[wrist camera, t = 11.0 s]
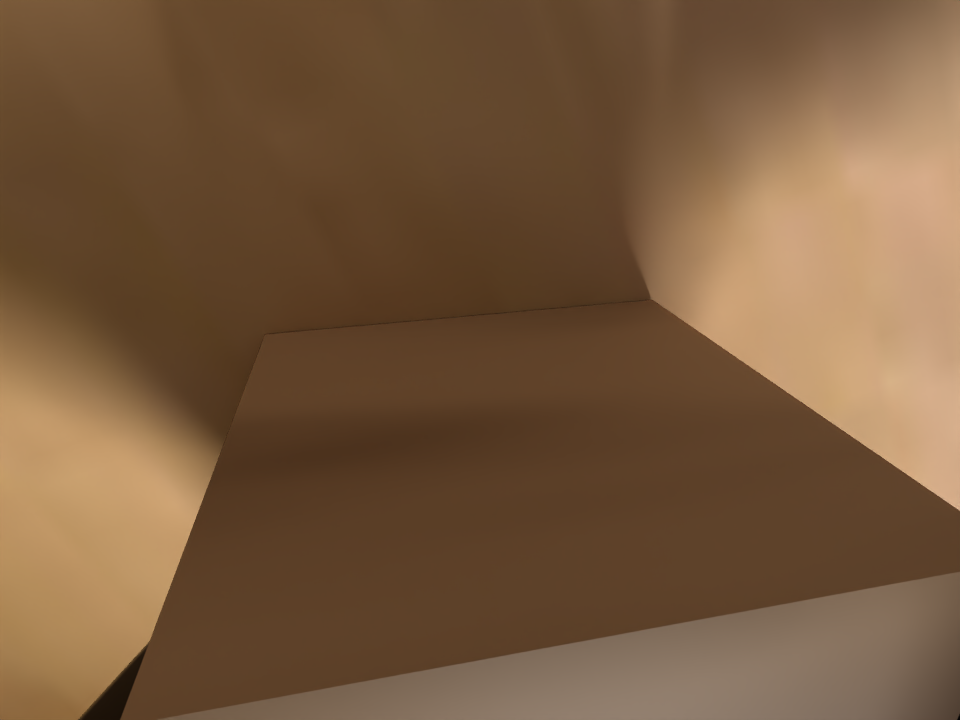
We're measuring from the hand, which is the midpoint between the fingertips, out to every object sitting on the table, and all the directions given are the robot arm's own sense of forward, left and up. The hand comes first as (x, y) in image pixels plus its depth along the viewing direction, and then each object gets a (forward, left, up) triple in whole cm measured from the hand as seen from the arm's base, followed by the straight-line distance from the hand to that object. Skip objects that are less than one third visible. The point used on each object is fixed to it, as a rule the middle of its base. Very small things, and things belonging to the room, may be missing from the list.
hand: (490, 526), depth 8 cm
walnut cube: (0, 0, -1) cm, 1 cm away
